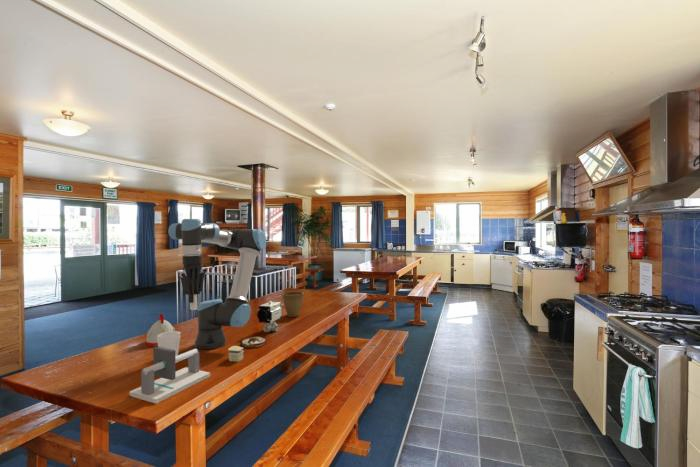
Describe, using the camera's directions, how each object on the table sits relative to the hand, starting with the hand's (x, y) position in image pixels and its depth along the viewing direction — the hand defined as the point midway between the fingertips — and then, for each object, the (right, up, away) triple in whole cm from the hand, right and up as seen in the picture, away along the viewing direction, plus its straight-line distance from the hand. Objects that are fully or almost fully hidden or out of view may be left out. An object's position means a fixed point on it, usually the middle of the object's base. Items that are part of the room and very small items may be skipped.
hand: (193, 309), depth 145 cm
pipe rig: (-1, -26, -15) cm, 30 cm away
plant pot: (+27, -25, +93) cm, 100 cm away
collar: (-3, -21, -18) cm, 28 cm away
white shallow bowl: (+16, -26, +33) cm, 45 cm away
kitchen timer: (-34, -26, +37) cm, 56 cm away
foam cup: (-15, -26, +7) cm, 31 cm away
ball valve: (+20, -26, +56) cm, 65 cm away
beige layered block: (+14, -26, +12) cm, 32 cm away
